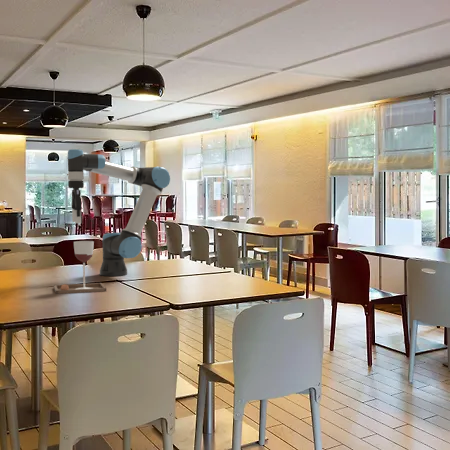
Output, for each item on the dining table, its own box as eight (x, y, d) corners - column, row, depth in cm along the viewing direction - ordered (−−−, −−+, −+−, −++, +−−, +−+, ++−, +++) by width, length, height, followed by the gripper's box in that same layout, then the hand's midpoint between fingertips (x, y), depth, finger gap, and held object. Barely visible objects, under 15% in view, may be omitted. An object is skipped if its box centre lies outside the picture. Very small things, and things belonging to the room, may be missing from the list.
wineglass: (98, 287, 270) (97, 241, 269) (86, 291, 261) (86, 242, 260) (81, 286, 273) (81, 240, 272) (70, 290, 264) (69, 242, 263)
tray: (101, 287, 276) (101, 282, 276) (106, 293, 261) (106, 288, 261) (54, 289, 269) (54, 285, 269) (56, 295, 254) (55, 290, 254)
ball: (68, 291, 261) (68, 283, 261) (69, 292, 258) (68, 284, 258) (60, 291, 260) (60, 283, 260) (60, 292, 257) (60, 285, 257)
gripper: (65, 180, 299) (66, 221, 301) (70, 179, 276) (71, 224, 277) (80, 180, 302) (81, 221, 303) (86, 180, 279) (87, 223, 280)
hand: (76, 222), depth 290 cm, fingers open, 13 cm apart
